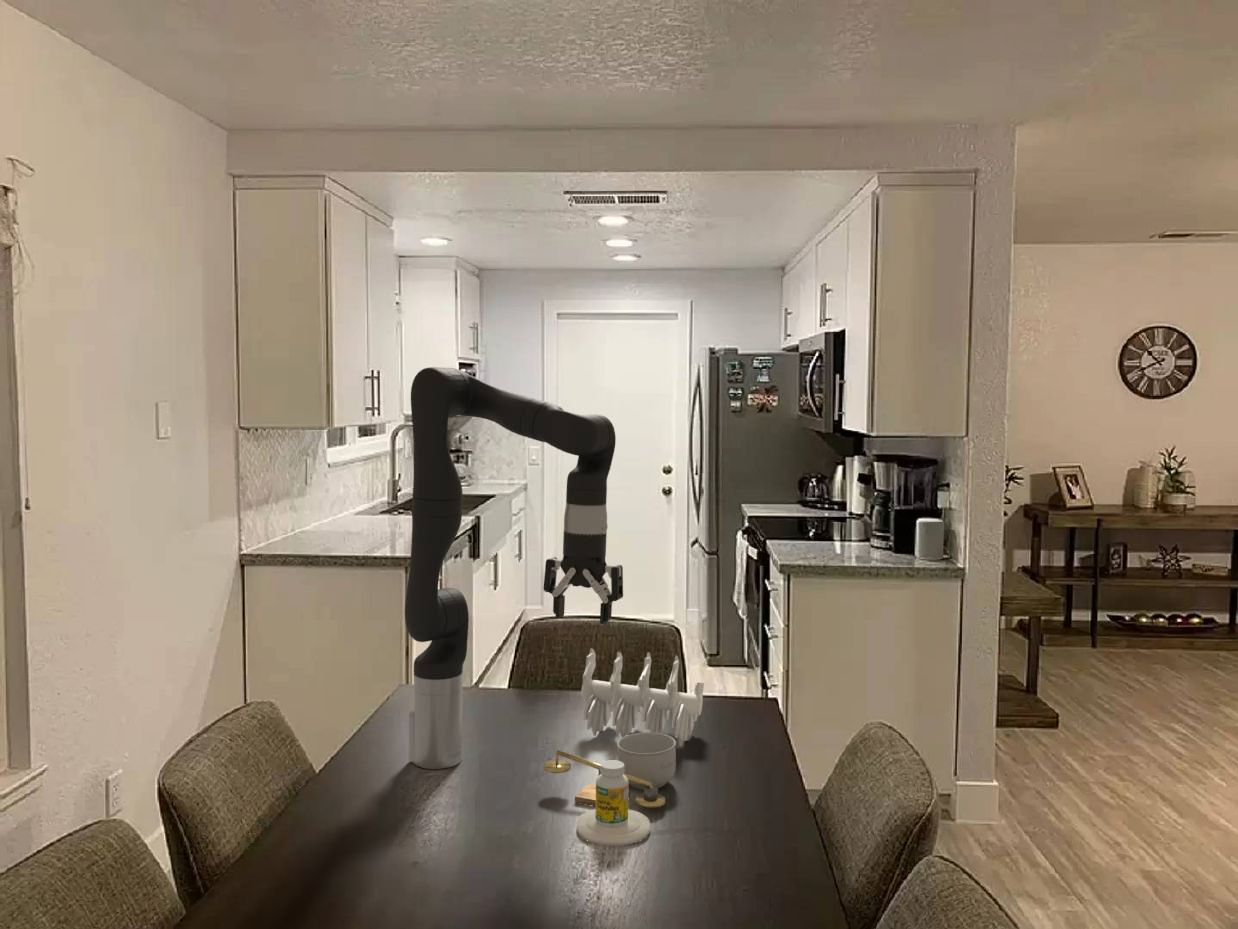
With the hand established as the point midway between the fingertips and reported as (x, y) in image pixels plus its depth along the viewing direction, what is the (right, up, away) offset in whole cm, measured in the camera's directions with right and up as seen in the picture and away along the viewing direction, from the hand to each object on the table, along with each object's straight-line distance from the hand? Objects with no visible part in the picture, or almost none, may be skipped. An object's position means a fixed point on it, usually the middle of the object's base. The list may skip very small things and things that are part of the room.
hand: (581, 620), depth 176 cm
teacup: (+12, -31, +10) cm, 35 cm away
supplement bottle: (+5, -31, -12) cm, 34 cm away
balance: (+4, -32, 0) cm, 32 cm away
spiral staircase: (+11, -30, +32) cm, 45 cm away
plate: (+6, -33, -12) cm, 35 cm away
